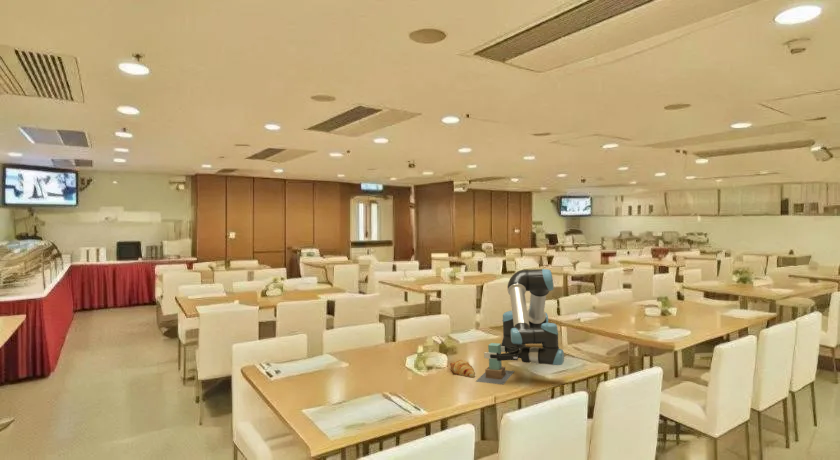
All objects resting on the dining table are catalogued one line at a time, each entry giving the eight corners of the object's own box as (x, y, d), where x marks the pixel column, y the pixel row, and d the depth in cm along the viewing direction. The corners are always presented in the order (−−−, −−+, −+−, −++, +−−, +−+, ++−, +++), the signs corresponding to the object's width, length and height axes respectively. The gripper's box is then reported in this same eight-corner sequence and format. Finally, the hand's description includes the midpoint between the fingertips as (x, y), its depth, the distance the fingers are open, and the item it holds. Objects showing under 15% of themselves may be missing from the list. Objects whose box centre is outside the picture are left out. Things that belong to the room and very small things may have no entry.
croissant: (478, 384, 233) (484, 369, 235) (464, 378, 229) (469, 363, 231) (455, 373, 252) (460, 359, 254) (441, 367, 247) (446, 353, 249)
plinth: (490, 373, 238) (490, 365, 238) (505, 374, 235) (505, 366, 235) (485, 377, 231) (485, 369, 231) (501, 379, 228) (500, 371, 228)
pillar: (492, 366, 236) (491, 342, 236) (501, 367, 234) (500, 343, 234) (489, 369, 232) (488, 345, 232) (498, 370, 230) (497, 345, 230)
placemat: (488, 369, 246) (488, 368, 246) (514, 371, 240) (514, 371, 240) (475, 382, 226) (475, 381, 226) (503, 385, 220) (503, 384, 220)
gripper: (524, 370, 214) (481, 365, 223) (536, 355, 236) (495, 352, 246) (524, 353, 214) (480, 350, 223) (535, 341, 236) (495, 338, 246)
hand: (488, 351), depth 234 cm, fingers open, 13 cm apart
